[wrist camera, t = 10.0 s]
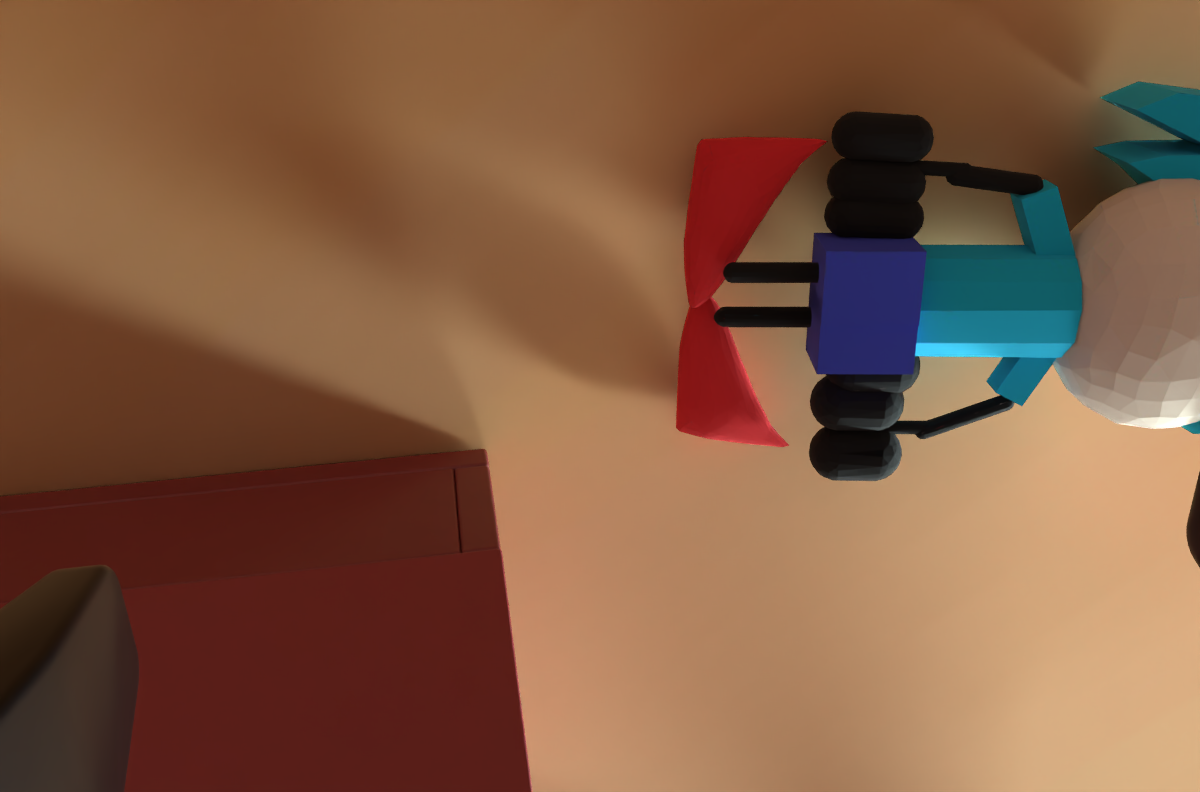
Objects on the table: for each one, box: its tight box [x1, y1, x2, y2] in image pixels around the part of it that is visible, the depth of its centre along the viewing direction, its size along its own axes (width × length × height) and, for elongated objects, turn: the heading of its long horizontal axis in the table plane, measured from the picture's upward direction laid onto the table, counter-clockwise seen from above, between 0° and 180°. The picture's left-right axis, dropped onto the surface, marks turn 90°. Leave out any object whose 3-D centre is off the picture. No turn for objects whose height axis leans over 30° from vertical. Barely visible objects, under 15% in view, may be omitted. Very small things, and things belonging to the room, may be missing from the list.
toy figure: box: [676, 82, 1200, 481], centre depth 22 cm, size 8×5×15 cm
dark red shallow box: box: [0, 449, 501, 603], centre depth 23 cm, size 11×16×4 cm, turn 92°
